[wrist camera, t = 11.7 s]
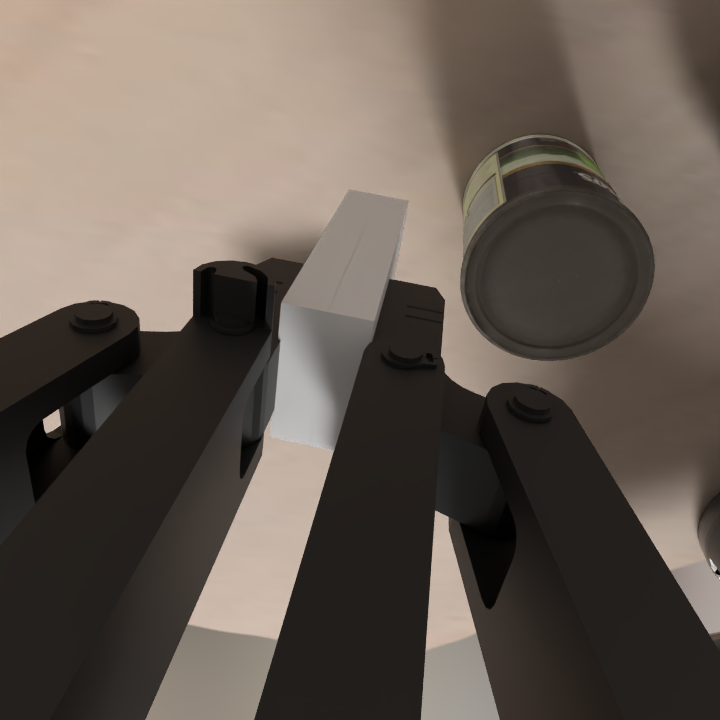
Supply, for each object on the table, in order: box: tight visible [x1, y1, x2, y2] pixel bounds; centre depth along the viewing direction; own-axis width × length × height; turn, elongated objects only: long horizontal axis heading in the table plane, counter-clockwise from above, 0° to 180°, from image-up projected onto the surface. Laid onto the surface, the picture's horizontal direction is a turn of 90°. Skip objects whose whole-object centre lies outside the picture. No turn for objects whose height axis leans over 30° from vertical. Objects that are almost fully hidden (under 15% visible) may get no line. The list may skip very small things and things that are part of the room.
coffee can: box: [460, 135, 655, 361], centre depth 40 cm, size 10×10×14 cm
